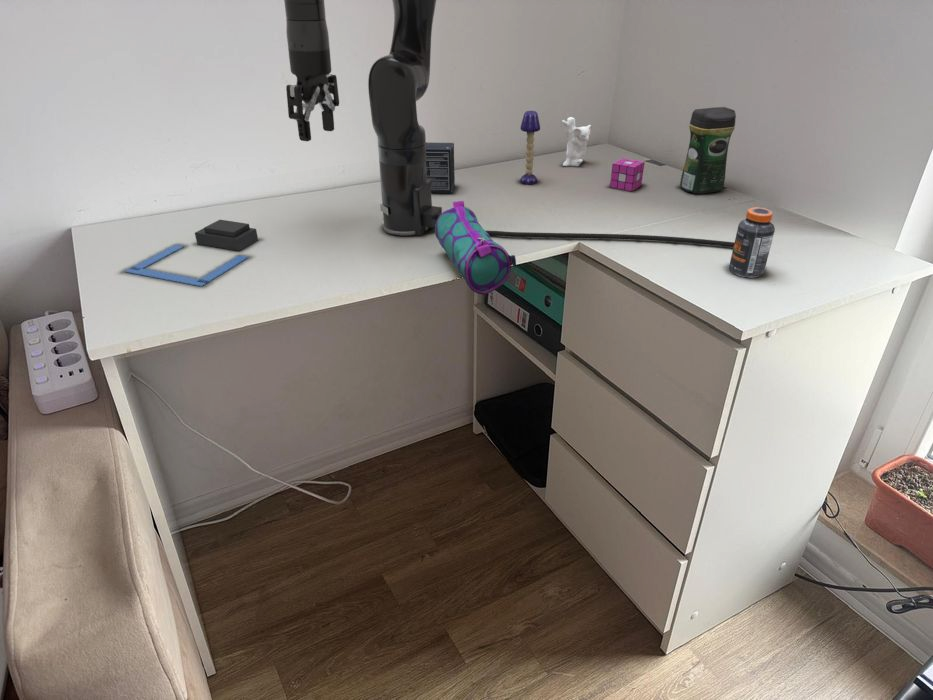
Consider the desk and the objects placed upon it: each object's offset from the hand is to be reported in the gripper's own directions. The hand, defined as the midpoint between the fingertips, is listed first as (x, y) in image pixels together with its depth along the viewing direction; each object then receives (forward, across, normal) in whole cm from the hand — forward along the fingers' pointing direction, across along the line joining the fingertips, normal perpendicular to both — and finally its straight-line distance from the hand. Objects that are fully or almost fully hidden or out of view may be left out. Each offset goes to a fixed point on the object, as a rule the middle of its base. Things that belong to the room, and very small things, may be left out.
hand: (317, 135), depth 131 cm
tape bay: (+18, -28, +12) cm, 35 cm away
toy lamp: (+17, +40, -32) cm, 55 cm away
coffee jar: (+16, +50, -72) cm, 89 cm away
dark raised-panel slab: (+18, -17, +12) cm, 28 cm away
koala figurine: (+17, +60, -39) cm, 73 cm away
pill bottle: (+16, +5, -84) cm, 85 cm away
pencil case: (+17, -12, -38) cm, 43 cm away
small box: (+18, +27, -13) cm, 35 cm away
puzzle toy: (+17, +46, -55) cm, 74 cm away
